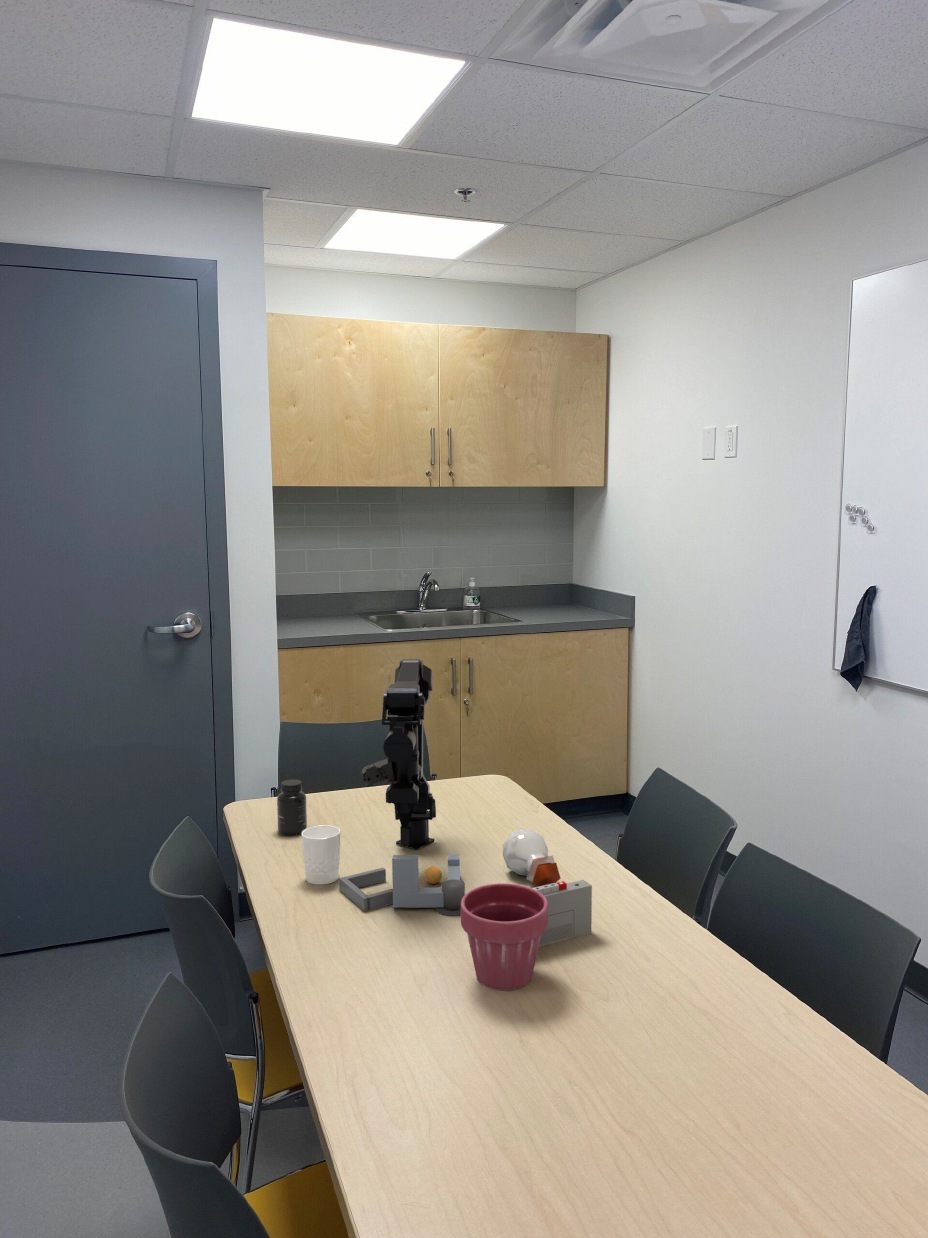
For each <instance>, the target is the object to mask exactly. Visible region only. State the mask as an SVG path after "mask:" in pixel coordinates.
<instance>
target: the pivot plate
mask: <svg viewBox="0 0 928 1238" xmlns="http://www.w3.org/2000/svg"><path fill="white" fill-rule="evenodd" d="M434 910H435V912H437V913H438V914H440V915H443V916H447V917H459V916H460V917H461V908H460V909H446V908H444V907H434Z"/></svg>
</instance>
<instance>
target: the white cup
mask: <svg viewBox="0 0 928 1238" xmlns="http://www.w3.org/2000/svg"><path fill="white" fill-rule="evenodd" d="M301 844H302V857H303V865H304V870H305V881H306V882H307V883H309V884H311V885H316V886H317V885H319V886H320V885H328V884H332V883H334V882H336V881H337V880H339V878H340V877H339V876H340V875H339V872H340V871H339V870H340V860H341V859H340V858H341V857H340V856H341V829H340V828H339V827H337V826H334V825H329V824H323V825H322V824H321V825H313V826H310V827H307V829H305V830H303V831H302V834H301Z"/></svg>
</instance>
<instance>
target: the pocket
mask: <svg viewBox="0 0 928 1238" xmlns="http://www.w3.org/2000/svg"><path fill="white" fill-rule="evenodd" d="M386 873H387V871H386V868H384V867H380V868H375V869H371V870H367V871H362V872H358V873H355V874H352V875H351V874H350V875H347V876H343V877H339V878H338V880H339V881H338V884H339V885H338V886H339V888H338V889H339V891H340V892H341V893H342V894H343V895H344V896H346V897H347V898H348V899H349V900H351V902H353V903H354V904H355V905H356V906H358V908H360V909H361V910H362V911H363V912H368V911H371V910H375V909H379V908H383V907H386V906H389V905H393V887H392V888H390V889H389V888H388V889H385V890H382V891H378V892H377V891H376V892H373V893H370V894H369V893H368V894H366V893H365V892H364V891H363V890H362V889H361V888H364V887H369V886H373V885H375V884H376V885H377V884H380V883H385V882H386V881H387V874H386Z"/></svg>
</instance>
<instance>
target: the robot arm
mask: <svg viewBox="0 0 928 1238" xmlns="http://www.w3.org/2000/svg"><path fill="white" fill-rule="evenodd" d="M433 691H434V675H433V670H432V669H431V668H430V667H428V666H427V665H425V664H424V663H423V660H421V659H419V658H416V659H415V658H412V659H411V658H410V659H409V658H408V659H407V658H404V659H402V660H399V666H398V667H397V668H395V671H394V683H391V684H389V685H388V687H387V690H386V692H383V700H382V715H381V726H389V727H388V728H389V730H388V734H387V736H386V737H385V739H384V742H383V748H382V750H383V753H384V755H385V756H386V758H385V759H382V760H379V761H376V762H374V763H371V764H368V765H366V766H363V768H362V770H361V774H362V775H361V776H362V781H363V782H364V783H365V785H366V787H367V788H370V787H373V786H374V785H376V784H377V783H381V782H383V781H385V780H387V783H391V784H389V786H387V787H386V790H385V791H386V792H385V804H386V803H388V804H392V805H394V817H395V819H394V820H395V821H398V820H399V822H400V827H399V828H400V829H399V832H400V833H399V834H400V835H399V836H400V839H399V840H397V841H395V845H397V846H402V847H406V848H409V849H413V850H420V849H422V848H424V847H426V846H428V845H430V844H432V843H434V842H435V838H432V837H430V836H429V835H430V834H429V833H430V831H429V830H430V829H429V828H430V827H429V826H430V825H429V824H430V823H429V821H433V819H435V818H437V806H436V799H435V798H434V796H433V793H431V792H430V789H431V788H430V787H431V786H430V784H429V782H428V780H427V779H426V778H425V777H426V776H425V775H424V720H425V713H426V709H425V708H426V706H427V705H428V704H429V701H430V699H431V692H433Z"/></svg>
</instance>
